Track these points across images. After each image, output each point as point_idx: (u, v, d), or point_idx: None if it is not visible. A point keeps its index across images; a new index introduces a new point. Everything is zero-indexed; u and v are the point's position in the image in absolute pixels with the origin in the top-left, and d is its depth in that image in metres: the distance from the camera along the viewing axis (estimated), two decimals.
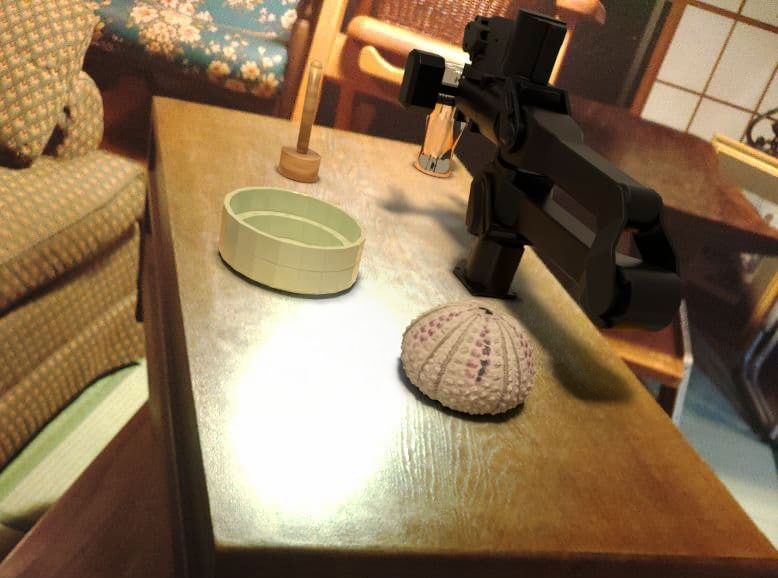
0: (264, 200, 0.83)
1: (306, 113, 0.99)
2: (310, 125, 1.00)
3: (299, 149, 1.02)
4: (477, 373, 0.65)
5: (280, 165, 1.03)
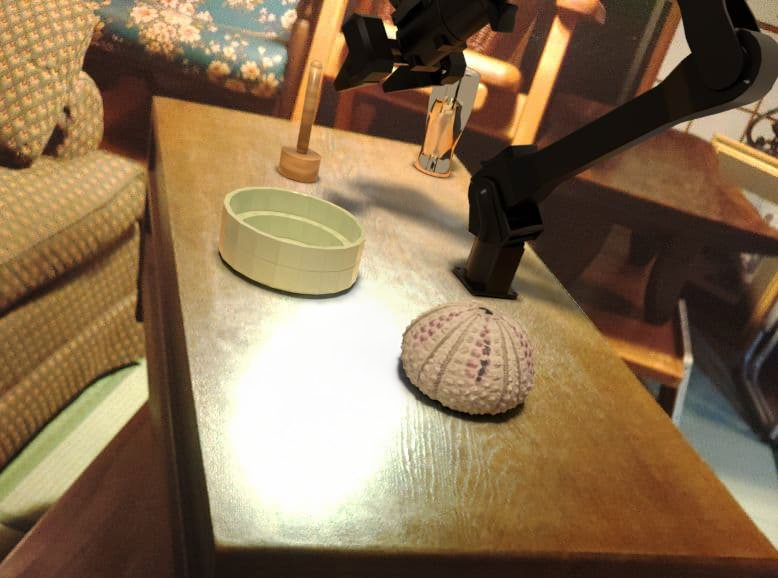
0: (264, 200, 0.83)
1: (306, 113, 0.99)
2: (310, 125, 1.00)
3: (299, 149, 1.02)
4: (477, 373, 0.65)
5: (280, 165, 1.03)
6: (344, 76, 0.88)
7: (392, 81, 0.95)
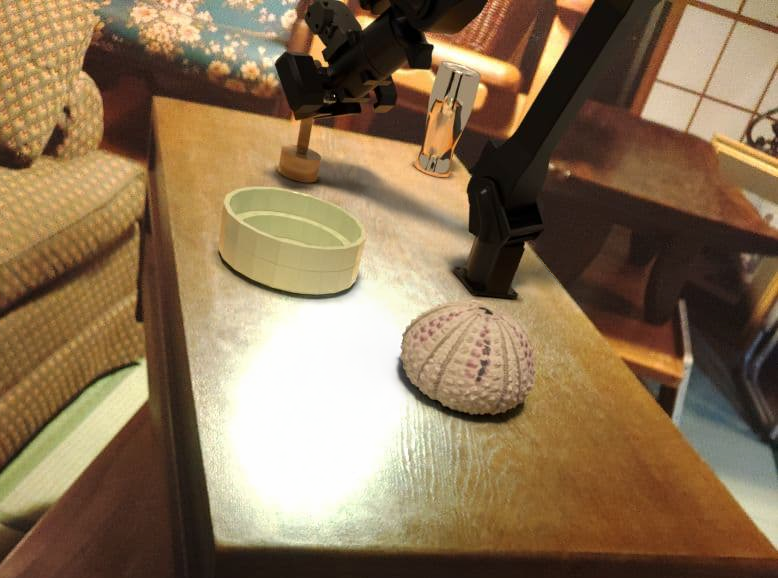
0: (264, 200, 0.83)
1: None
2: (309, 125, 1.00)
3: (299, 149, 1.02)
4: (477, 373, 0.65)
5: (280, 165, 1.03)
6: None
7: None
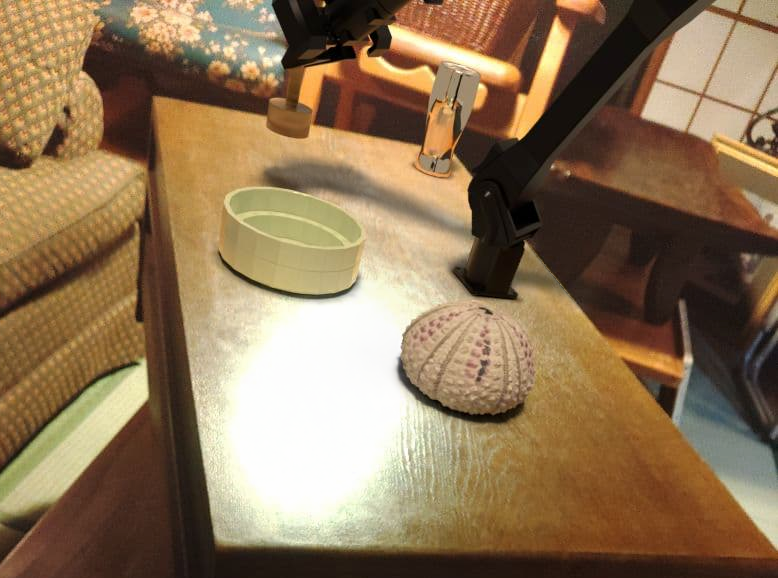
0: (264, 200, 0.83)
1: None
2: (300, 74, 0.92)
3: (289, 102, 0.94)
4: (477, 373, 0.65)
5: (269, 121, 0.94)
6: (293, 54, 0.89)
7: None
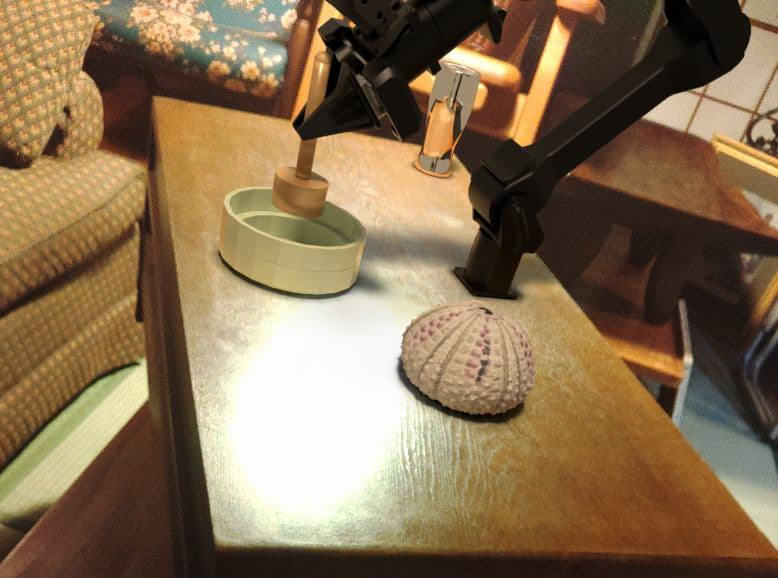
0: (264, 200, 0.83)
1: None
2: None
3: (306, 175, 0.76)
4: (477, 373, 0.65)
5: (294, 206, 0.75)
6: (324, 122, 0.71)
7: None
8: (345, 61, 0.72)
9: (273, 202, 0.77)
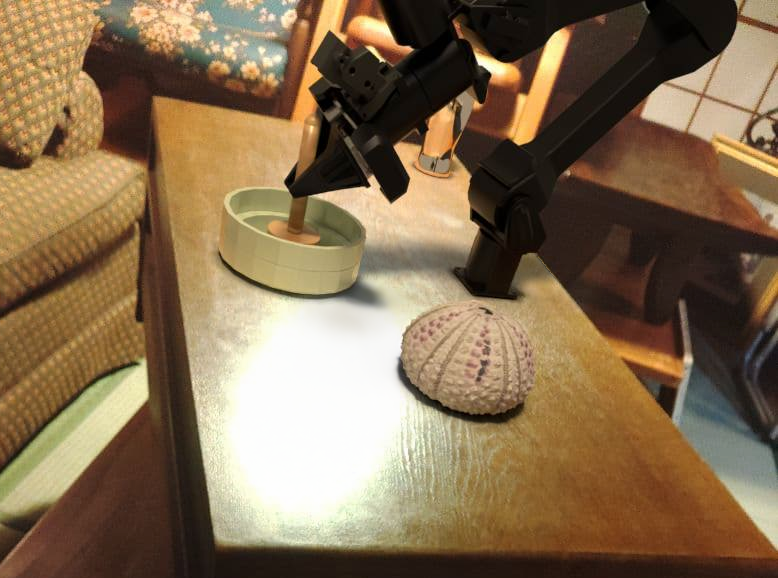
0: (264, 200, 0.83)
1: None
2: None
3: (298, 230, 0.77)
4: (477, 373, 0.65)
5: None
6: (314, 181, 0.73)
7: None
8: (335, 122, 0.73)
9: None
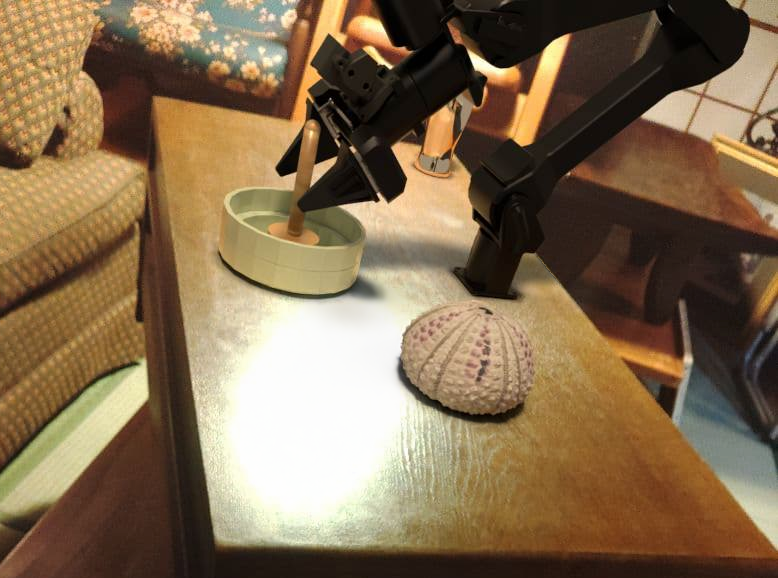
0: (264, 200, 0.83)
1: (307, 188, 0.76)
2: None
3: (297, 232, 0.79)
4: (477, 373, 0.65)
5: None
6: (323, 195, 0.72)
7: (291, 162, 0.79)
8: (324, 111, 0.77)
9: None
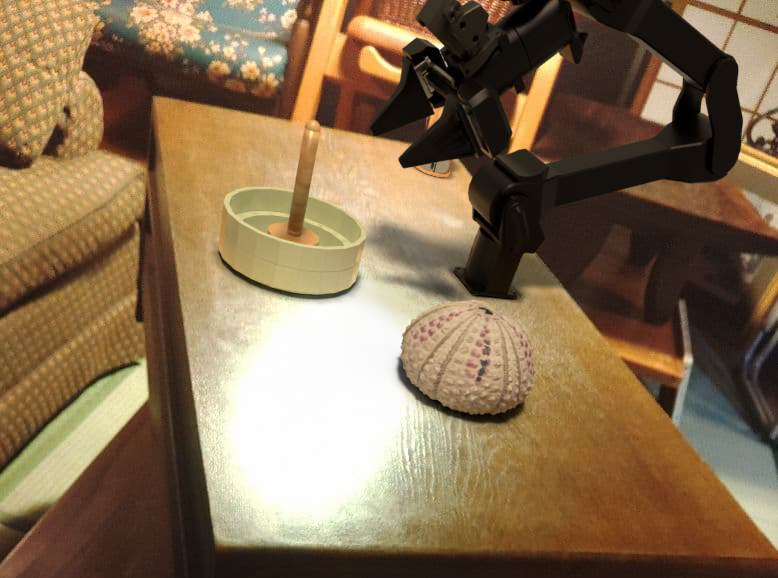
0: (264, 200, 0.83)
1: (307, 188, 0.76)
2: (307, 199, 0.78)
3: (297, 232, 0.79)
4: (477, 373, 0.65)
5: None
6: (426, 151, 0.73)
7: (385, 121, 0.79)
8: (420, 69, 0.78)
9: None
